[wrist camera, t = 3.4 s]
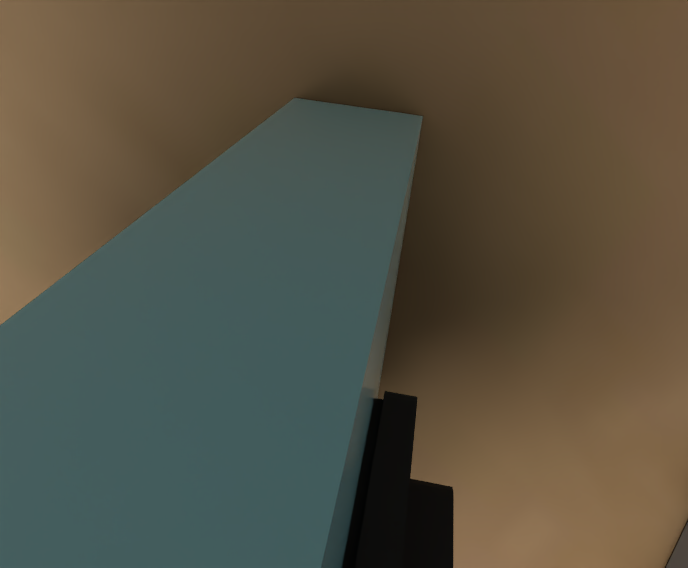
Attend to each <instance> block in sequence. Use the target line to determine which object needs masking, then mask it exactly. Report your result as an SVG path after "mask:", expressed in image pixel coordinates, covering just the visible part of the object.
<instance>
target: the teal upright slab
mask: <svg viewBox="0 0 688 568" xmlns="http://www.w3.org/2000/svg"><path fill="white" fill-rule="evenodd" d="M422 120H423V116H419V115H412V114H405V113H398V112H391V111H384V110H377V109H370V108H363V107H356V106H349V105H342V104H335V103H328V102H321V101H314V100H307V99H300V98H294V99H292V100H291V101H290V102H288V103H287V104H286V105H284V106H283V107H282V108H281V109H279V110H278V111H277V112H275V113H274V114H273V115H272V116H270V117H269V118H268V119H266V120H265V121H264V122H262V123H261V124H260V125H259V126H257V127H256V128H255V129H253V130H252V131H251V132H250V133H248V134H247V135H246V136H244V137H243V138H242V139H241V140H239V141H238V142H237V143H235V144H234V145H233V146H231V147H230V148H229V149H228V150H226V151H225V152H224V153H222V154H221V155H220V156H219V157H217V158H216V159H215V160H213V161H212V162H211V163H209V164H208V165H207V166H206V167H204V168H203V169H202V170H200V171H199V172H198V173H197V174H195V175H194V176H193V177H191V178H190V179H189V180H188V181H186V182H185V183H184V184H182V185H181V186H180V187H178V188H177V189H176V190H175V191H173V192H172V193H171V194H169V195H168V196H167V197H166V198H164V199H163V200H162V201H160V202H159V203H158V204H156V205H155V206H154V207H153V208H151V209H150V210H149V211H147V212H146V213H145V214H144V215H142V216H141V217H140V218H138V219H137V220H136V221H135V222H133V223H132V224H131V225H129V226H128V227H127V228H125V229H124V230H123V231H122V232H120V233H119V234H118V235H116V236H115V237H114V238H113V239H111V240H110V241H109V242H107V243H106V244H105V245H103V246H102V247H101V248H100V249H98V250H97V251H96V252H94V253H93V254H92V255H91V256H89V257H88V258H87V259H85V260H84V261H83V262H81V263H80V264H79V265H78V266H76V267H75V268H74V269H72V270H71V271H70V272H69V273H67V274H66V275H65V276H63V277H62V278H61V279H60V280H58V281H57V282H56V283H54V284H53V285H52V286H50V287H49V288H48V289H47V290H45V291H44V292H43V293H41V294H40V295H39V296H38V297H36V298H35V299H34V300H32V301H31V302H30V303H28V304H27V305H26V306H25V307H23V308H22V309H21V310H19V311H18V312H17V313H16V314H14V315H13V316H12V317H10V318H9V319H8V320H7V321H5V322H4V323H3V324H1V325H0V568H342V564H343V559H344V554H345V549H346V543H347V538H348V533H349V528H350V522H351V517H352V512H353V507H354V501H355V496H356V491H357V486H358V481H359V475H360V470H361V465H362V460H363V454H364V449H365V444H366V439H367V433H368V428H369V423H370V418H371V413H372V407H373V402H374V398H376V399H377V398H378V392H379V385H380V379H381V373H382V367H383V361H384V355H385V348H386V342H387V336H388V330H389V324H390V317H391V311H392V305H393V299H394V293H395V287H396V280H397V274H398V268H399V262H400V256H401V250H402V243H403V237H404V231H405V225H406V219H407V212H408V206H409V200H410V194H411V188H412V182H413V175H414V169H415V163H416V157H417V151H418V144H419V138H420V132H421V126H422Z"/></svg>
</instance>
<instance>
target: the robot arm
mask: <svg viewBox="0 0 688 568" xmlns="http://www.w3.org/2000/svg"><path fill="white" fill-rule="evenodd" d="M416 407H417V397H415V396H409V395H404V394H398V393H393V392H387V391H385V393H384V399H383V400H382V399H376V398H374V402H373V407H372V413H371V418H370V423H369V428H368V433H367V439H366V444H365V449H364V454H363V460H362V465H361V470H360V475H359V481H358V486H357V491H356V496H355V501H354V507H353V512H352V517H351V522H350V528H349V533H348V538H347V543H346V549H345V554H344V559H343V564H342V568H453V489H452V487H450V486H445V485H439V484H434V483H429V482H424V481H419V480H414V479H410V473H411V462H412V451H413V440H414V429H415V418H416Z"/></svg>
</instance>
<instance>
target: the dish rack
mask: <svg viewBox="0 0 688 568" xmlns="http://www.w3.org/2000/svg"><path fill="white" fill-rule="evenodd" d="M666 568H688V522H687V524H686V526H685V529H684V531H683V533H682V535H681V537H680V539H679V541H678V543H677V545H676V547H675V549H674V552H673V554H672V556H671V558H670V560H669V562H668V564H667V566H666Z"/></svg>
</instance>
